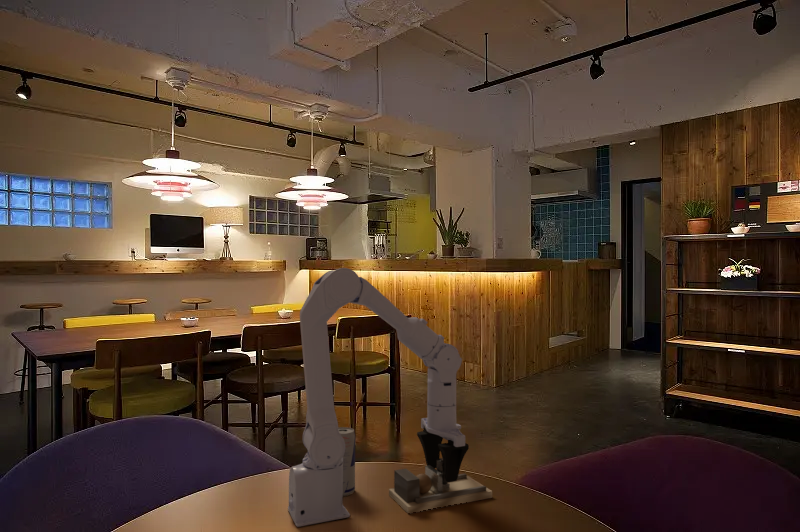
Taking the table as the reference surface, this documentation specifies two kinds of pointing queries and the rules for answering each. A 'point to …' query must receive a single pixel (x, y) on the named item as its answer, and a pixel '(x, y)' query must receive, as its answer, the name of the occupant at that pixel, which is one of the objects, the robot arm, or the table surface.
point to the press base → (416, 502)
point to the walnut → (424, 483)
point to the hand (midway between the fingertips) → (441, 474)
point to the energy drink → (348, 460)
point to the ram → (437, 477)
